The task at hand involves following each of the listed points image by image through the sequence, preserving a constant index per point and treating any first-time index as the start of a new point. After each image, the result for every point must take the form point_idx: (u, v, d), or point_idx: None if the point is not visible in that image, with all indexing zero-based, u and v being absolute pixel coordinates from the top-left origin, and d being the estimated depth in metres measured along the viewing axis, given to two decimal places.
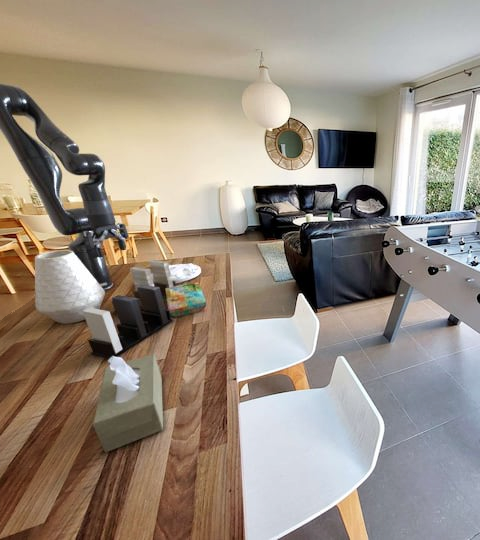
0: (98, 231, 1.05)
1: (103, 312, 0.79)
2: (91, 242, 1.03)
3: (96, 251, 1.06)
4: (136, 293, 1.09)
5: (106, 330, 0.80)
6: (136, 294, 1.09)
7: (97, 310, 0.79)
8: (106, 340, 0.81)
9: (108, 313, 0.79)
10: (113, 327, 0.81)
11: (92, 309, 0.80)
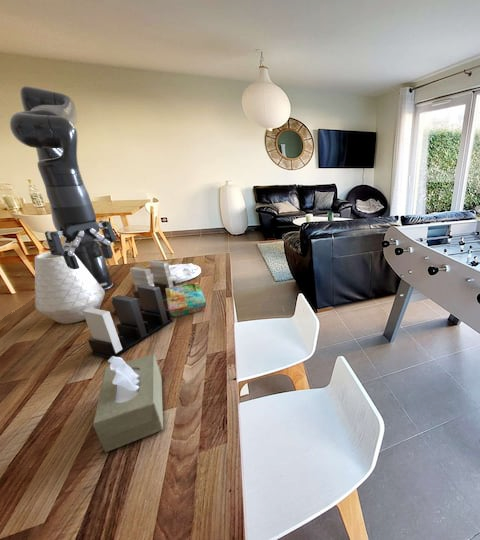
0: (70, 232, 0.72)
1: (103, 312, 0.79)
2: (59, 248, 0.70)
3: (68, 261, 0.73)
4: (136, 293, 1.09)
5: (106, 330, 0.80)
6: (136, 294, 1.09)
7: (97, 310, 0.79)
8: (106, 340, 0.81)
9: (108, 313, 0.79)
10: (113, 327, 0.81)
11: (92, 309, 0.80)
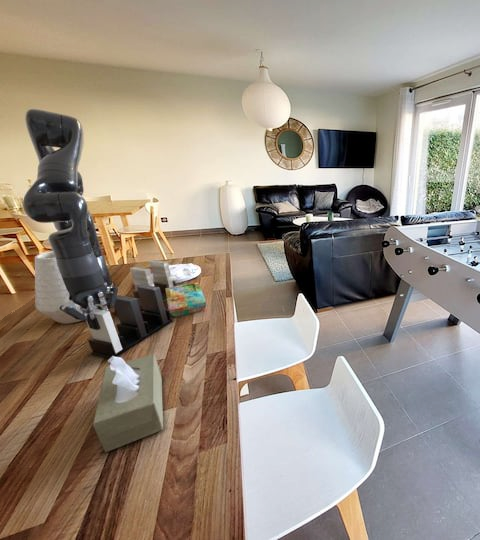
0: (79, 298, 0.74)
1: (103, 312, 0.79)
2: (80, 316, 0.75)
3: (90, 323, 0.78)
4: (136, 293, 1.09)
5: (106, 330, 0.80)
6: (136, 294, 1.09)
7: (97, 310, 0.79)
8: (106, 340, 0.81)
9: (108, 313, 0.79)
10: (113, 327, 0.81)
11: None
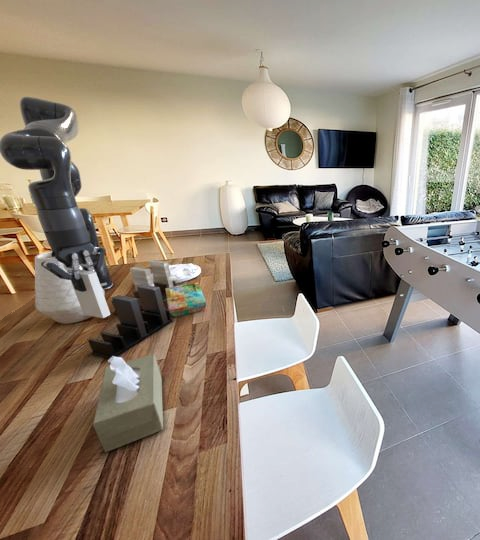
0: (62, 255, 0.69)
1: (89, 272, 0.74)
2: (64, 274, 0.70)
3: (75, 284, 0.73)
4: (136, 293, 1.09)
5: (93, 292, 0.75)
6: (136, 294, 1.09)
7: (83, 271, 0.75)
8: (93, 303, 0.77)
9: (95, 273, 0.75)
10: (100, 289, 0.76)
11: None
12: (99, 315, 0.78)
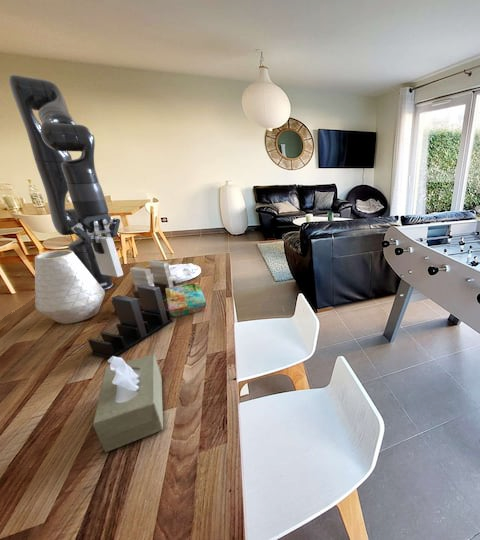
0: (86, 222, 0.85)
1: (107, 238, 0.90)
2: (87, 237, 0.86)
3: (95, 247, 0.89)
4: (136, 293, 1.09)
5: (110, 254, 0.91)
6: (136, 294, 1.09)
7: (102, 236, 0.91)
8: (109, 264, 0.93)
9: (111, 239, 0.90)
10: (115, 253, 0.92)
11: None
12: (114, 274, 0.94)
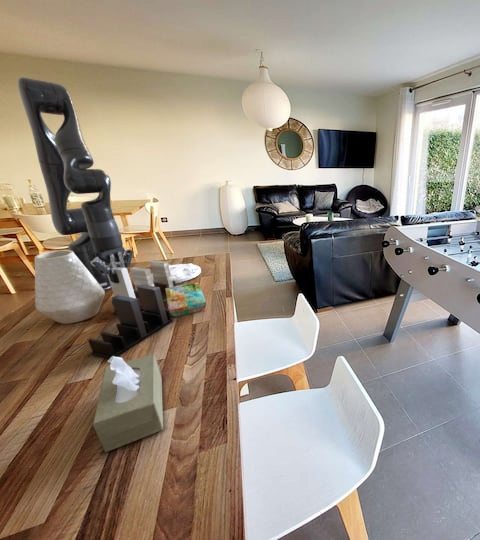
0: (103, 255, 0.93)
1: (122, 268, 0.98)
2: (104, 269, 0.94)
3: (111, 277, 0.97)
4: (136, 293, 1.09)
5: (124, 284, 0.99)
6: (136, 294, 1.09)
7: (117, 267, 0.99)
8: (124, 292, 1.00)
9: (126, 269, 0.98)
10: (129, 282, 1.00)
11: None
12: None
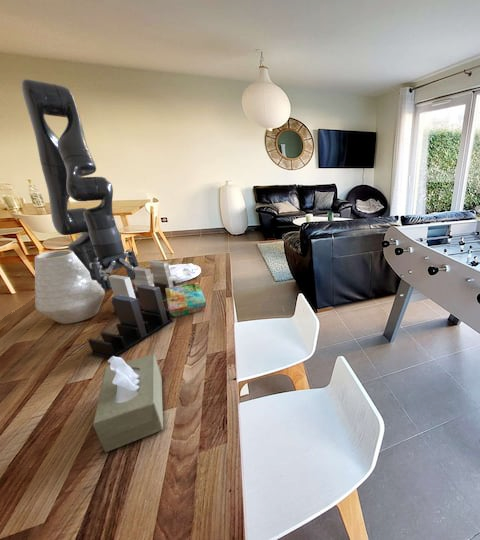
0: (105, 262, 0.94)
1: (125, 277, 0.99)
2: (97, 275, 0.92)
3: (103, 284, 0.95)
4: (136, 293, 1.09)
5: (127, 292, 1.00)
6: (136, 294, 1.09)
7: (120, 276, 1.00)
8: None
9: (128, 278, 1.00)
10: (132, 290, 1.01)
11: (115, 275, 1.00)
12: None
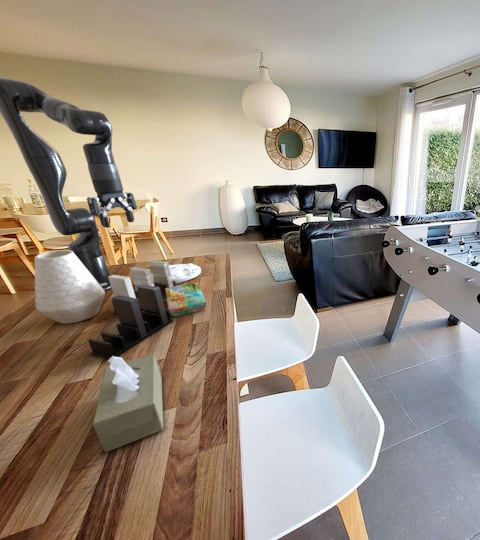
0: (104, 198, 0.96)
1: (125, 277, 0.99)
2: (97, 210, 0.94)
3: (102, 221, 0.97)
4: (136, 293, 1.09)
5: (127, 292, 1.00)
6: (136, 294, 1.09)
7: (120, 276, 1.00)
8: None
9: (128, 278, 1.00)
10: (132, 290, 1.01)
11: (115, 275, 1.00)
12: None
